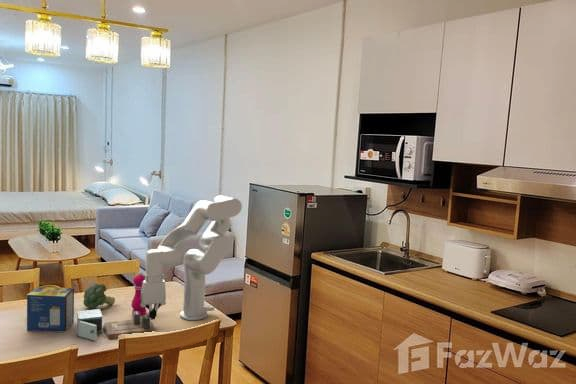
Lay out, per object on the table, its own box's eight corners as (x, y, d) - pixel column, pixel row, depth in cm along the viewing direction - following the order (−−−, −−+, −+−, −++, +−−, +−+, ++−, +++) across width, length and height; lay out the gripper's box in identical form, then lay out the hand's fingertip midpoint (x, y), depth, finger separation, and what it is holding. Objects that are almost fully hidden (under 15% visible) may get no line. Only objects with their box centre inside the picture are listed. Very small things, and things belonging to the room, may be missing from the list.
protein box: (37, 321, 205) (37, 286, 203) (74, 322, 206) (74, 288, 204) (25, 331, 194) (26, 294, 193) (64, 332, 196) (65, 296, 194)
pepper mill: (141, 309, 226) (142, 268, 224) (150, 313, 221) (151, 272, 219) (128, 313, 220) (129, 271, 218) (136, 317, 216) (138, 275, 214)
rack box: (99, 324, 205) (100, 309, 205) (102, 332, 197) (102, 316, 197) (77, 327, 201) (77, 311, 201) (78, 335, 193) (78, 319, 193)
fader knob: (138, 320, 207) (138, 310, 206) (140, 324, 203) (140, 314, 203) (132, 321, 206) (133, 311, 205) (134, 324, 202) (134, 314, 202)
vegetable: (120, 305, 223) (91, 296, 214) (104, 319, 228) (75, 311, 218) (120, 284, 232) (92, 275, 222) (105, 298, 236) (77, 290, 227)
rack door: (96, 339, 190) (96, 324, 189) (92, 341, 188) (93, 326, 187) (78, 334, 193) (78, 319, 193) (74, 336, 192) (74, 321, 191)
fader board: (149, 321, 212) (150, 307, 211) (155, 333, 200) (156, 318, 200) (104, 327, 203) (104, 312, 202) (107, 339, 192) (108, 323, 191)
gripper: (169, 274, 212) (167, 313, 214) (134, 276, 206) (133, 317, 207) (173, 279, 206) (171, 319, 208) (138, 281, 199) (136, 323, 201)
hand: (152, 318), depth 208 cm, fingers closed
